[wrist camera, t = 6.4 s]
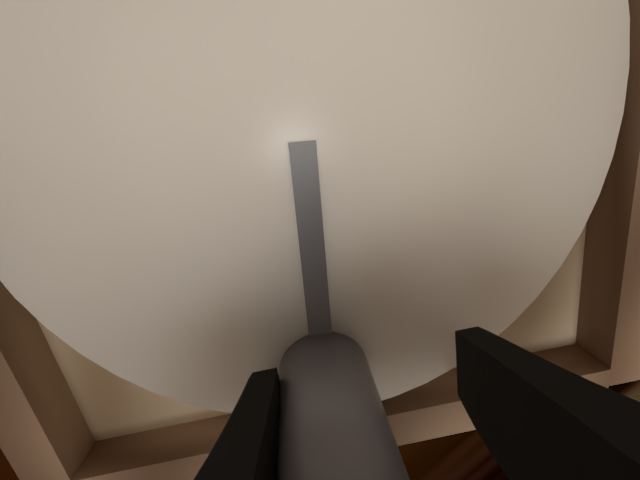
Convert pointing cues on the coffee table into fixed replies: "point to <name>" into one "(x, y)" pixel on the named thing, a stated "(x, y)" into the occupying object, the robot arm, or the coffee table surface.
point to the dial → (299, 190)
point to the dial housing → (402, 410)
